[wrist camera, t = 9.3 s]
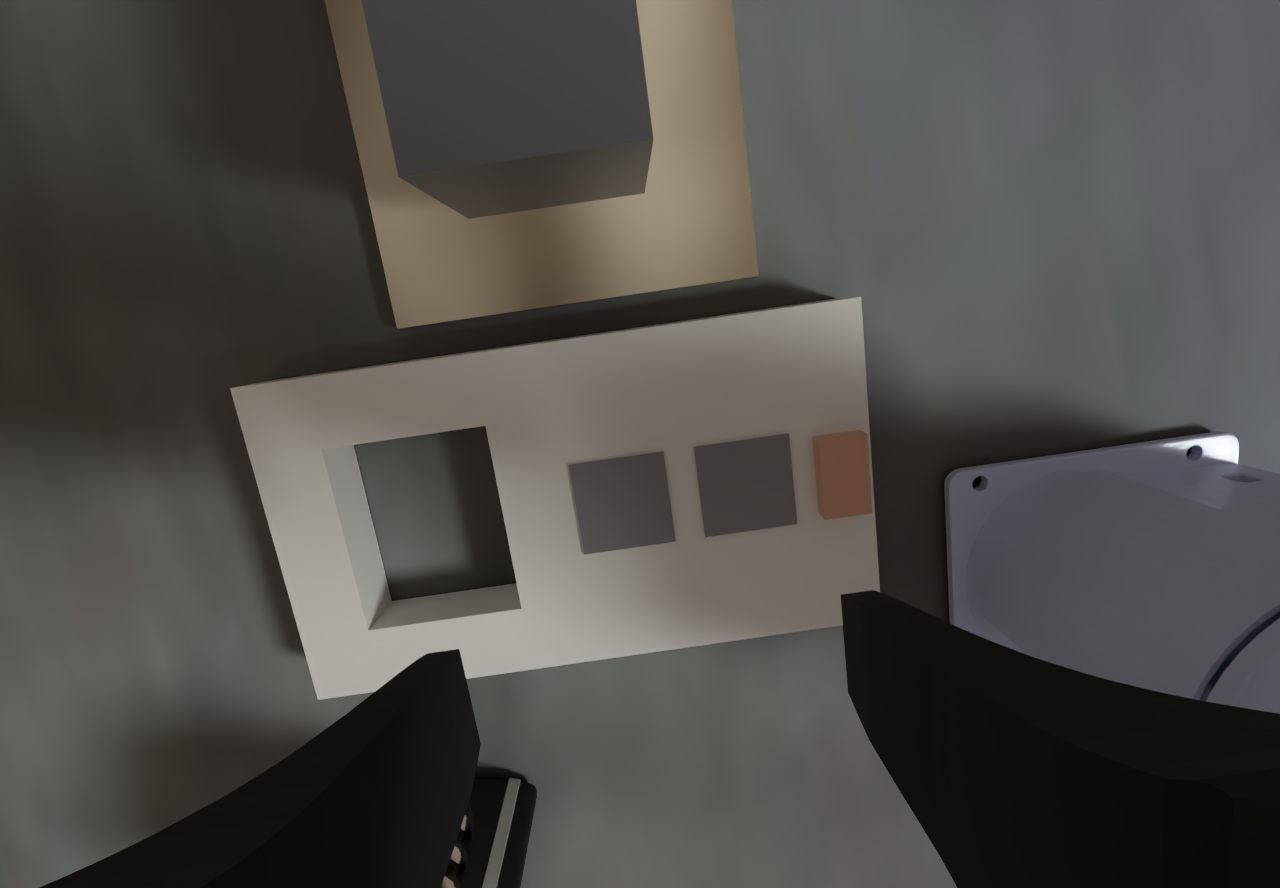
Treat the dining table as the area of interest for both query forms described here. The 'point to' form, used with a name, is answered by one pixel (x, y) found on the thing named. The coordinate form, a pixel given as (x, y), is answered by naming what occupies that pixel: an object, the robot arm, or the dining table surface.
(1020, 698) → the robot arm
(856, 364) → the white slotted block
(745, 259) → the pad
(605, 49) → the block
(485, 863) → the battery charger
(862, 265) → the dining table surface
